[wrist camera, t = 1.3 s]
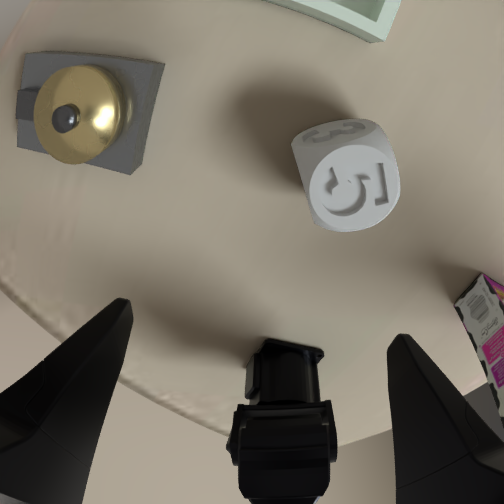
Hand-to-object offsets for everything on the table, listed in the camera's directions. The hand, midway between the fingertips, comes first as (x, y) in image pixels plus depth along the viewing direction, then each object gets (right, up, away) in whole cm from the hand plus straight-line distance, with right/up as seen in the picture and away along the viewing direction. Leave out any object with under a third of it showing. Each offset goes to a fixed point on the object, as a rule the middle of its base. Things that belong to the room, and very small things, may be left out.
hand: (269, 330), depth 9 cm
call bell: (-12, +12, +7) cm, 18 cm away
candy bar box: (+26, -3, +16) cm, 30 cm away
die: (+5, +9, +9) cm, 13 cm away
